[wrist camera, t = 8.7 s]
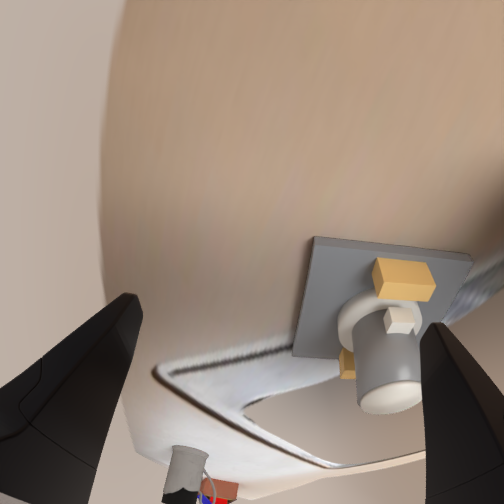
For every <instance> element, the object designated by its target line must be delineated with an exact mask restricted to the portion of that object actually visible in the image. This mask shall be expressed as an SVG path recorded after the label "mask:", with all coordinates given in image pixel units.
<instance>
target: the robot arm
mask: <svg viewBox="0 0 504 504" xmlns="http://www.w3.org/2000/svg"><path fill="white" fill-rule="evenodd" d="M142 319H143V311H142V308H141V305H140V302H139V299H138V296H137V295H136V294H132V293H123V294H121V295H120V296H119V297H117V298H116V299H115V300H113V301H112V302H111V303H109V304H108V305H107V306H106V307H104V308H103V309H102V310H100V311H99V312H98V313H96V314H95V315H94V316H93V317H91V318H90V319H89V320H87V321H86V322H85V323H84V324H82V325H81V326H80V327H78V328H77V329H76V330H75V331H73V332H72V333H71V334H70V335H68V336H67V337H66V338H65V339H63V340H62V341H61V342H60V343H58V344H57V345H56V346H55V347H53V348H52V349H51V350H50V351H48V352H47V353H46V354H45V355H44V356H43V357H42V358H40V359H39V360H38V361H36V362H35V363H34V364H32V365H31V366H30V367H29V368H28V369H26V370H25V371H24V372H22V373H21V374H20V375H18V376H17V377H15V378H14V379H13V380H12V381H10V382H9V383H7V384H6V385H4V386H3V387H1V388H0V504H88V501H89V497H90V493H91V489H92V486H93V482H94V478H95V475H96V471H97V467H98V463H99V460H100V457H101V453H102V450H103V446H104V443H105V440H106V437H107V433H108V430H109V427H110V424H111V421H112V418H113V414H114V411H115V408H116V405H117V402H118V399H119V397H120V394H121V391H122V388H123V385H124V382H125V379H126V376H127V374H128V371H129V368H130V365H131V362H132V359H133V355H134V351H135V347H136V343H137V339H138V335H139V331H140V327H141V323H142ZM420 370H421V393H422V403H423V414H424V427H425V445H426V499H425V504H504V396H503V395H502V393H501V392H500V391H499V389H498V388H497V386H496V385H495V384H494V383H493V381H492V380H491V379H490V377H489V376H488V375H487V374H486V372H485V371H484V370H483V369H482V368H481V366H480V365H479V364H478V363H477V361H476V360H475V359H474V358H473V357H472V355H471V354H470V353H469V352H468V351H467V349H466V348H465V347H464V346H463V345H462V344H461V342H460V341H459V340H458V339H457V338H456V337H455V336H454V334H453V333H452V332H451V331H450V330H449V329H448V328H447V326H446V325H445V324H444V323H441V322H432V323H431V324H430V325H429V326H428V328H427V329H426V331H425V333H424V334H423V336H422V337H421V340H420Z"/></svg>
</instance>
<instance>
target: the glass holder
mask: <svg viewBox="0 0 504 504" xmlns="http://www.w3.org/2000/svg"><path fill="white" fill-rule="evenodd" d="M172 448H173V454H172V458H171V462H170V466H169V470H168V474H167V478H166V482H165V486H164V490H163V492H164V493H163V497H162V503H165V504H196V501H197V496H198V492H199V493H200V497H199V503H200V504H202V492H201V491H199V490H200V486H201V481H202V476H203V472H204V473H205V475H206V476H207V477H208V479H209V481H210V483H211V485H212V488H213V503H212V504H215V501H216V490H215V486H214V483H213V481H212V480H211V478H210V476H209V475H208V474H207V472H206V470H205V469H204V466H205V461H206V459H207V458H208V456H209V455H208V454H207V453H206V452H203V451H201V450H198V449H195V448H191V447H186V446H180V445H174V446H172Z"/></svg>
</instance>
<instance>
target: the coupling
mask: <svg viewBox="0 0 504 504" xmlns="http://www.w3.org/2000/svg"><path fill="white" fill-rule="evenodd" d="M414 325H415V320H414V316H413V313H412V310H411V308H400V307H388V309H382V310H378V311H374V312H372V313H369V314H367V315H366V316H364V317H363V318H361V319H360V320H359V321H358V322H357V323H356V324H355V325H354V327H353V329H352V342H353V352H354V363H355V375H356V385H357V386H356V388H357V403H358V405H359V406H360V407H361V409H362V411H364V412H365V413H368V414H374V415H386V414H392V413H397V412H400V411H403V410H406V409H408V408H411V407H413V406H414V405H416V404H417V403H419V402H420V401H421V400H422V393H421V370H420V352H419V348H418V344H417V340H416V336H415V332H414V329H413V326H414Z"/></svg>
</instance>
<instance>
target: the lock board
mask: <svg viewBox="0 0 504 504" xmlns="http://www.w3.org/2000/svg"><path fill="white" fill-rule="evenodd" d="M473 263H474V261H473V260H472V258H471V256H470V255H469V254H463V253H455V252H447V251H439V250H431V249H423V248H415V247H406V246H398V245H389V244H380V243H372V242H363V241H353V240H344V239H335V238H325V237H315V236H314V241H313V247H312V252H311V258H310V263H309V269H308V274H307V279H306V284H305V289H304V295H303V300H302V304H301V309H300V314H299V319H298V324H297V328H296V333H295V337H294V342H293V346H292V356H295V357H308V358H323V359H339V365H340V378H341V379H356V375H355V363H354V352H353V342H352V329H353V327H354V325H355V324H356V323H357V322H358V321H359V320H360V319H361V318H363V317H364V316H366V315H367V314H369V313H372V312H374V311H378V310H382V309H388V307H400V308H411V310H412V313H413V316H414V320H415V325H414V326H413V329H414V332H415V336H416V340H417V344H418V348H419V352H420V340H421V337H422V336H423V334H424V333H425V331H426V329H427V328H428V326H429V325H430V324H431V323H432V322H441V321H442V319H443V317H444V316H445V314H446V312H447V311H448V309H449V307H450V306H451V304H452V302H453V301H454V299H455V297H456V295H457V293H458V292H459V290H460V288H461V286H462V284H463V283H464V281H465V279H466V277H467V275H468V273H469V271H470V269H471V267H472V265H473Z"/></svg>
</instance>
